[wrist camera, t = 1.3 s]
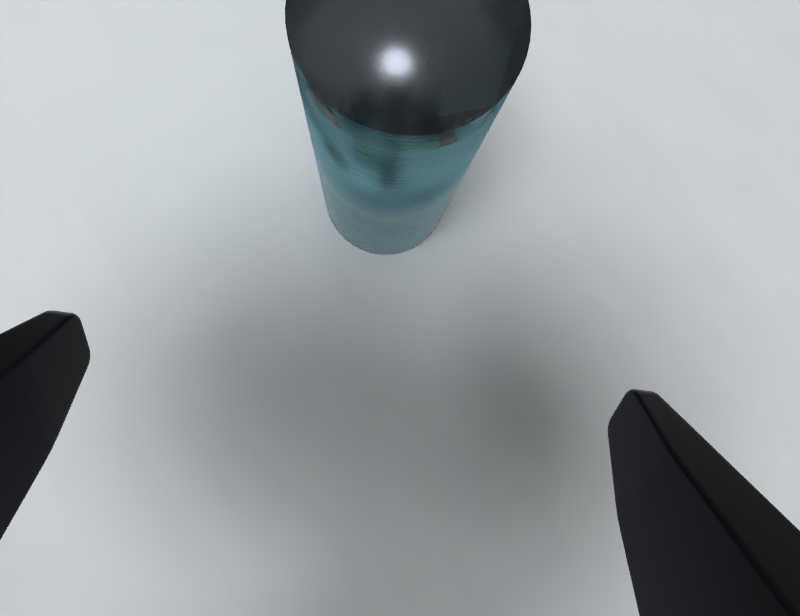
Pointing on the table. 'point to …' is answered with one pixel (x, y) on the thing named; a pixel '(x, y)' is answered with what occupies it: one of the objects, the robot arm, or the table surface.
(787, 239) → the table surface
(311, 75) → the ball
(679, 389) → the table surface
